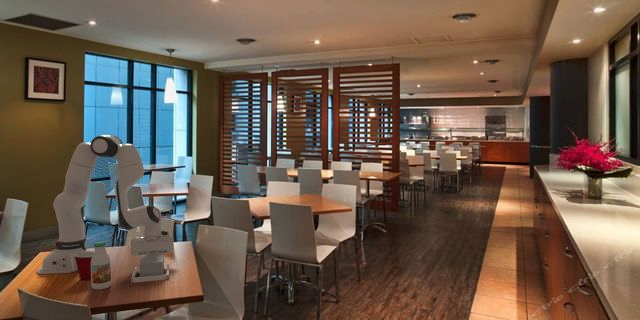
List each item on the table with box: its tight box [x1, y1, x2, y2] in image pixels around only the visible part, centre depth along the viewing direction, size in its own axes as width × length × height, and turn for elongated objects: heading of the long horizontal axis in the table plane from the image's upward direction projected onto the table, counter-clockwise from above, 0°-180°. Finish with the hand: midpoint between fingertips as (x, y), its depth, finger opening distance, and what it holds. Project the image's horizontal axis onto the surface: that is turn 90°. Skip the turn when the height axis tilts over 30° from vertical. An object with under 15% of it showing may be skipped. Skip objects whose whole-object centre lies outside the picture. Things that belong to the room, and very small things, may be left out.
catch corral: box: [130, 263, 170, 284], centre depth 212 cm, size 16×17×2 cm
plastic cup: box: [74, 250, 94, 281], centre depth 207 cm, size 11×11×12 cm
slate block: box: [139, 253, 165, 277], centre depth 212 cm, size 10×14×8 cm
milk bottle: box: [90, 240, 112, 291], centre depth 196 cm, size 8×8×20 cm
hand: (152, 260), depth 220 cm, fingers closed, pressing on slate block
